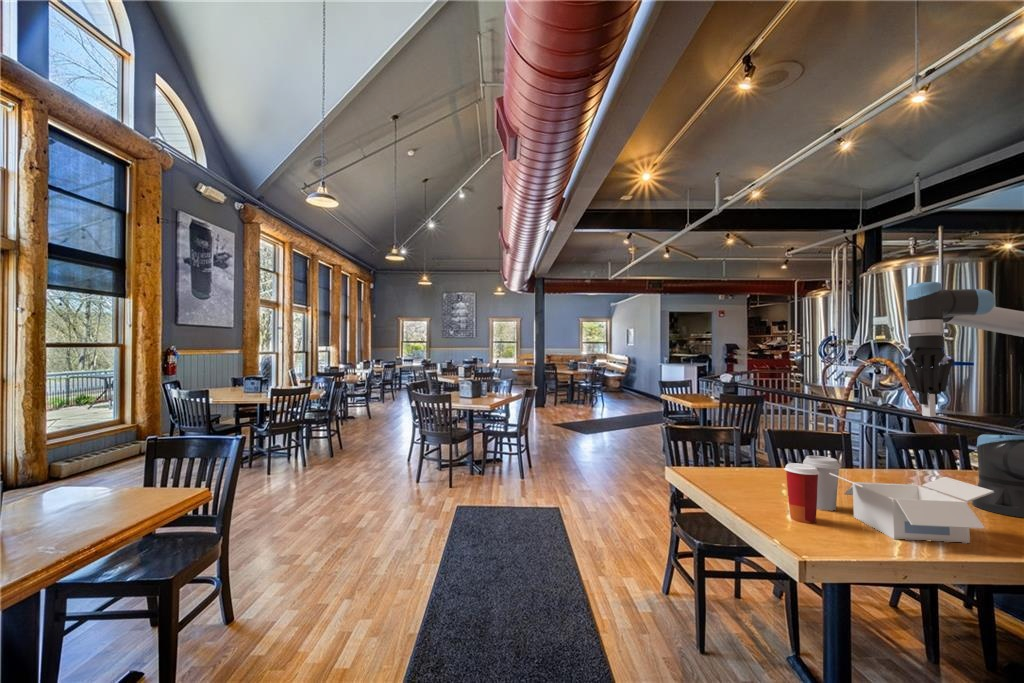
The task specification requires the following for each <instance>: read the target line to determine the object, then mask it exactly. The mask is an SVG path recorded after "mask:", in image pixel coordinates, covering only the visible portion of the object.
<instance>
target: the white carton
mask: <svg viewBox="0 0 1024 683" xmlns="http://www.w3.org/2000/svg"><path fill="white" fill-rule="evenodd" d="M853 482H854V481H853ZM854 483H857V484H859V485H862V486H864V487H866V488H869V489H871V490H874V491H876V492H878V493H881V494H883V495H885V496H888V497H889V498H886V497H884V496H881V495H879V494H876V493H874V492H872V491H869V490H867V489H864V488H862V487H859V486H857V485H855V484H851V486H850V487H849V488H848V489H847V490H846V491H845V492H844V495H847V496H852V503H853V504H852V505H853V509H852V510H853V519H855V518H856V519H855V520H857V519H858V520H857V521H859V520H860V521H862V522H864V523H865V524H864V523H863V524H864V525H866V524H867V526H868V525H869V526H868V527H870V526H871V527H870V528H872V527H873V528H872V529H874V528H875V529H874V530H876V531H877V530H878V532H879V531H880V533H881V532H882V533H881V534H883V533H884V535H885V536H887V537H889V538H891V539H893V540H896V539H905V540H904V541H914V540H931V541H944V542H943V543H949V542H962V543H961V544H967V543H970V544H971V535H970V534H971V533H970V529H976V530H977V529H978V530H980V529H981V530H985V528H986V527H985V526H984V524H983V523H982V521H980V519H979V518H978V516H977V515H976V514H975V512H974V511H973V510H972V509H971V507H970V506H969V502H966V501H964V500H961V499H958V498H955V497H952V496H949V495H946V494H943V493H940V492H937V491H934V490H931V489H928V488H925V487H922V485H916V484H907V483H889V482H887V483H885V482H884V483H883V482H864V481H863V482H862V481H861V482H860V481H855V482H854ZM860 521H859V522H860ZM862 522H861V523H862ZM931 541H930V542H931Z"/></svg>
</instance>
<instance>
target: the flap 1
mask: <svg viewBox="0 0 1024 683" xmlns="http://www.w3.org/2000/svg"><path fill="white" fill-rule="evenodd" d="M829 474H831V475H833V476H835V477H838V479H840V480H842V481H846V482H848V483H850V484H851V485H853V484H855V485H857V486H859V487H862V488H864V489H867V490H869V491H872V492H874V493H876V494H879V495H881V496H884V497H886V498H889V497H888V496H885V495H883V494H881V493H878V492H876V491H874V490H871V489H869V488H866V487H864V486H862V485H859V484H857V483H854V481H851V480H849V479H846V478H844V477H841V476H840V475H838V476H837V475H834V474H832V473H829Z"/></svg>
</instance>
